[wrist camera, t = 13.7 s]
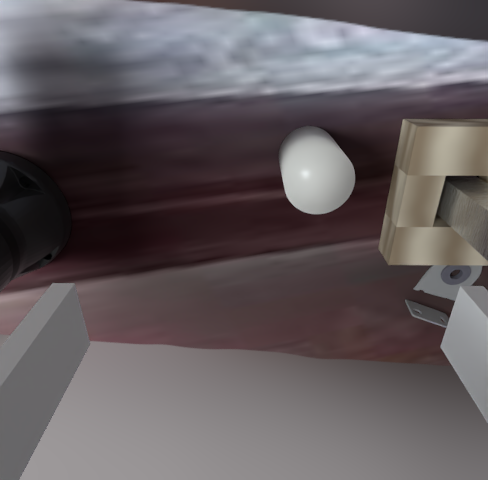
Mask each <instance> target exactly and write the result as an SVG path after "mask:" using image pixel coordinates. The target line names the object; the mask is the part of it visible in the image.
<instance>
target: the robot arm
mask: <svg viewBox="0 0 488 480" xmlns="http://www.w3.org/2000/svg"><path fill="white" fill-rule="evenodd" d="M70 233H71V214H70V210H69V207H68V204H67V201H66V199H65V197H64V195H63V194H62V192H61V190H60V189H59V188H58V186H57V185H56V184H55V182H54V181H53V180H52V179H51V178H50V177H49V176H48V175H47V174H46V173H45V172H43V171H42V170H41V169H40V168H38V167H37V166H35V165H34V164H32V163H31V162H29V161H27V160H25V159H23V158H21V157H19V156H16V155H13V154H10V153H6V152H1V151H0V292H1V291H2V290H3V289H4V288H5V286H6V285H7V284H8V283H9V282H10V281H11V280H13V279H15V278H18V277H20V276H23V275H25V274H27V273H30V272H32V271H34V270H37V269H39V268H41V267H43V266H45V265H47V264H48V263H49V262H51V261H52V260H53V259H54V258H55V257H56V256H57V255H58V254H59V253H60V251H61V250H62V249H63V248H64V247H65V245H66V244H67V242H68V239H69V237H70ZM89 345H90V341H89V337H88V333H87V329H86V325H85V322H84V318H83V314H82V310H81V306H80V302H79V298H78V294H77V290H76V287H75V283H52V284H51V286H50V287H49V288H48V289H47V291H46V292H45V293H44V294H43V296H42V297H41V298H40V299H39V301H38V302H37V303H36V304H35V305H34V307H33V308H32V309H31V310H30V312H29V313H28V314H27V315H26V317H25V318H24V319H23V320H22V322H21V323H20V324H19V325H18V326H17V328H16V329H15V330H14V331H13V333H12V334H11V335H10V336H9V338H8V339H7V340H6V341H5V343H4V344H3V345H2V346H1V347H0V480H19V479H20V477H21V475H22V473H23V471H24V469H25V468H26V466H27V464H28V462H29V460H30V458H31V456H32V454H33V452H34V450H35V448H36V447H37V445H38V443H39V441H40V439H41V437H42V435H43V433H44V431H45V429H46V427H47V426H48V424H49V422H50V420H51V418H52V416H53V414H54V412H55V410H56V408H57V406H58V405H59V403H60V401H61V399H62V397H63V395H64V393H65V391H66V389H67V387H68V385H69V384H70V382H71V380H72V378H73V376H74V374H75V372H76V370H77V368H78V366H79V364H80V362H81V361H82V359H83V357H84V355H85V353H86V351H87V349H88V347H89ZM441 349H442V350H443V352H444V353H445V355H446V357H447V358H448V360H449V362H450V363H451V365H452V366H453V368H454V370H455V371H456V373H457V374H458V376H459V378H460V379H461V381H462V382H463V384H464V385H465V387H466V389H467V390H468V392H469V394H470V395H471V397H472V399H473V400H474V402H475V403H476V405H477V407H478V408H479V410H480V411H481V413H482V415H483V416H484V418H485V419H486V421H487V423H488V291H487V290H486V289H485V288H484V286H460V288H459V291H458V295H457V298H456V301H455V304H454V307H453V310H452V313H451V316H450V319H449V322H448V325H447V328H446V331H445V334H444V337H443V340H442V344H441Z"/></svg>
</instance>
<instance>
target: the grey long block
mask: <svg viewBox="0 0 488 480" xmlns="http://www.w3.org/2000/svg"><path fill="white" fill-rule="evenodd" d="M436 213H437V214H438V215H439V216H440V217H441V218H442V219H443V220H444V221H445V222H446V223H447V224H448V225H450V226H451V227H452V228H453V229H454V230H455V231H456V232H457V233H458V234H459V235H460V236H461V237H462V238H464V239H465V240H466V241H467V242H468V243H469V244H470V245H471V246H472V247H473V248H474V249H475V250H476V251H478V252H479V253H480V254H481V255H482V256H483V257H484V258H485V259H486V260H487V261H488V183H486V182H484V181H483V180H481V179H479V178H478V177H476V176H446V177H445V181H444V185H443V189H442V192H441V196H440V200H439V204H438V208H437V212H436Z"/></svg>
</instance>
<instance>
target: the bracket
mask: <svg viewBox="0 0 488 480" xmlns="http://www.w3.org/2000/svg"><path fill="white" fill-rule="evenodd" d="M454 270H460V272H459V274H457V275H456V276H450V273H451V272H452V271H454ZM481 271H482V265H432V266H431V267H430V268H429V269H428V271H427V272H426V273H425V274H424V276H423V277H422V278H421V280H420V281H419V282H418V284H417V285H416V286H415V288H414V290H418V291H419V290H424V292H425V293H429V294H432V295H436V296H440V297H443V298H448V299H451V300H454V301H456V298H457V295H458V291H459V288H460V286H471V285H472V284H473V283H474V282H475V281H476V280H477V279H478V277H479V276H480V274H481ZM405 302H406V304H407V306H408V308H409V311H410V313H411V315H412V316H413V317H416V318H419V319H422V320H425V321H428V322H431V323H433V324H436V325H439V326H442V327H445V328H447V325H448V322H449V318H448V317H447V315H446V313H443V312H440V311H437V310H434V309H432V308H429V307H426V306H423V305H421V304H418V303H415V302H412V301H409V300H405ZM414 310H416V311H418V312H419V313H420V314H419V313H416V312H415V311H414ZM440 318H441V319H442V320H443V321H444V322H445V324H444V323H443V322H442V321H441V319H440Z"/></svg>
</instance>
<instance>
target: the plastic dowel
mask: <svg viewBox="0 0 488 480" xmlns="http://www.w3.org/2000/svg"><path fill="white" fill-rule="evenodd" d="M279 164H280V169H281V174H282V179H283V184H284V189H285V193H286V196H287V198H288V199H289V201H290V202H291V203H292V204H293V205H294V206H295V207H296V208H297V209H299V210H301V211H303V212H305V213H309V214H324V213H328V212H331V211H333V210H335V209H337V208H338V207H340V206H341V205H342V204H343V203H344V202H345V201H346V200H347V199H348V198H349V196H350V195H351V193H352V191H353V188H354V184H355V171H354V167H353V165H352V163H351V161H350V160H349V158H348V157H347V156H346V155H345V153H344V152H343V151H342V150H341V148H340V147H339V146H338V145H337V143H336V142H335V141H334V139H333V138H332V137H331V136H330V135H329V134H328V133H327V132H326V131H325V130H323V129H321V128H319V127H315V126H304V127H300V128H298V129H295V130H294V131H292V132H291V133H289V134H288V135H287V136H286V138H285V139H284V140H283V142H282V144H281V146H280V149H279Z"/></svg>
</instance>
